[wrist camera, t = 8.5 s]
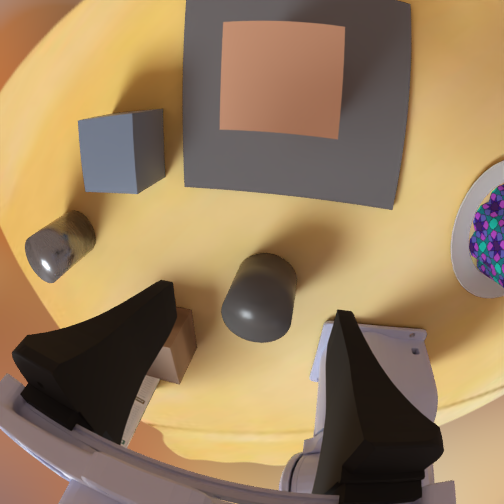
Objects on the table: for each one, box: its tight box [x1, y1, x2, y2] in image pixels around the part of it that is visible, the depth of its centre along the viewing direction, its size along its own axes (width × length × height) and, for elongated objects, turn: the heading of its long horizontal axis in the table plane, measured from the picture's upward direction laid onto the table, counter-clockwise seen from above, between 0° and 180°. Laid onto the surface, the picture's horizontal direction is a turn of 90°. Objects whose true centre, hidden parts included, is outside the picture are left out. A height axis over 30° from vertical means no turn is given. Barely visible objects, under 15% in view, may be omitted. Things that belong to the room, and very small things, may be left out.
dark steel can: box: [25, 211, 95, 283], centre depth 22 cm, size 4×4×6 cm
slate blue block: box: [78, 109, 165, 194], centre depth 18 cm, size 4×5×4 cm
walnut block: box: [146, 307, 197, 384], centre depth 26 cm, size 5×5×5 cm
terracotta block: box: [220, 21, 345, 140], centre depth 12 cm, size 4×4×7 cm
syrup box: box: [120, 375, 160, 448], centre depth 27 cm, size 6×6×14 cm
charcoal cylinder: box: [221, 253, 297, 343], centre depth 21 cm, size 5×5×4 cm
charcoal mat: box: [183, 0, 411, 210], centre depth 16 cm, size 14×14×1 cm
